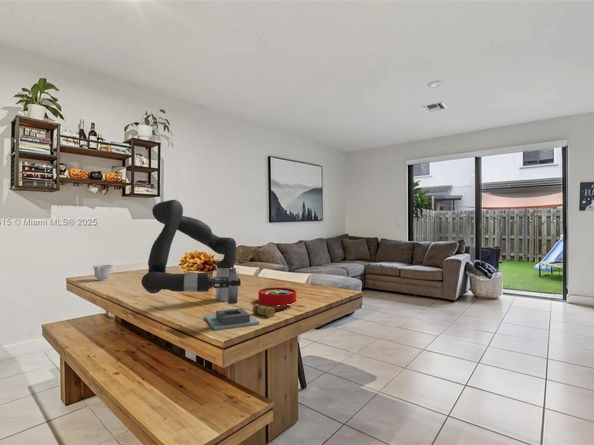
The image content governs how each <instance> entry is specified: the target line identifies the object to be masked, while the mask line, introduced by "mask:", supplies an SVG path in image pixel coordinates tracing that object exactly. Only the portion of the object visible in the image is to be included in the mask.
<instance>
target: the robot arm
mask: <svg viewBox="0 0 594 445" xmlns="http://www.w3.org/2000/svg"><path fill="white" fill-rule="evenodd" d="M183 208H184V207H183V204H182V203H181V202H180V201H178V200H177V199H169V200H166V201H165V200H163V201H160V202H158V203H156V204H154V206H153V207H152V210H151V213H152V215H153V217H154V218H155V219H156V221H157V222H159V223H161V224H163V228H162V229H161V232H160V233H159V235H158V236H157V237H156V239H155V240H154V242H153V244H152V245H151V248H150V252H149V257H148V261H147V266H148V270H147V273H145V274H144V275H143V276H142V277H141V285H142V287H143V289H144V290H145V291H146V292H148V293H149V294H157V293H159V292H160V291H162V290H167V291H171V292H174V293H175V292H177V293H178V292H179V293H180V292H181V293H182V292H189V293H202V292H203V293H207V292H209V291H210V287H213V289H215V301H219V302H228V287H230V286H238V287H240V286H241V279H240V278H239V277H238V280H228V275H229V268H235V264H236V256H237V254H236V253H237V242H236V240H235V238H234V237H222V236H221V237H220V236H218V235H216V234H214V233H213V230H212V229H211V227H210V226H209V225H208V224H206V223H205V222H203V221H202V220H200V219H197V218H194V217H190V216H187V215H183V212H184V209H183ZM178 231H179V232H180V233H182V234H185V236H188V237H189V238H191V239H193V240H195V241H197V242H198V243H201V244H203V245H204V246H206V247H208V248H209V249H211V250H212V251H213V252H215V254H218V255H223V258H222V259H221V260H219V261H217V262H216V267H215V268H216V271H215V276H214V277H210V273H209V272H189V273H188V272H187V273H169V272H166V269H167V265H168V259H169V255H170V250H171V247H172V243H173V241H174V238H175V235H176V233H177V232H178Z"/></svg>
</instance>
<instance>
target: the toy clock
mask: <svg viewBox="0 0 594 445" xmlns="http://www.w3.org/2000/svg"><path fill="white" fill-rule="evenodd" d="M257 298H258V303H259V305H262V304H263V305H262V306H267V305H269V306H268V307H273V306H277V305H286V304H292V303H294V302H296V303H297V290H296V289H293V288H289V287H266V288H260V289H259V290H258V297H257Z"/></svg>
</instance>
